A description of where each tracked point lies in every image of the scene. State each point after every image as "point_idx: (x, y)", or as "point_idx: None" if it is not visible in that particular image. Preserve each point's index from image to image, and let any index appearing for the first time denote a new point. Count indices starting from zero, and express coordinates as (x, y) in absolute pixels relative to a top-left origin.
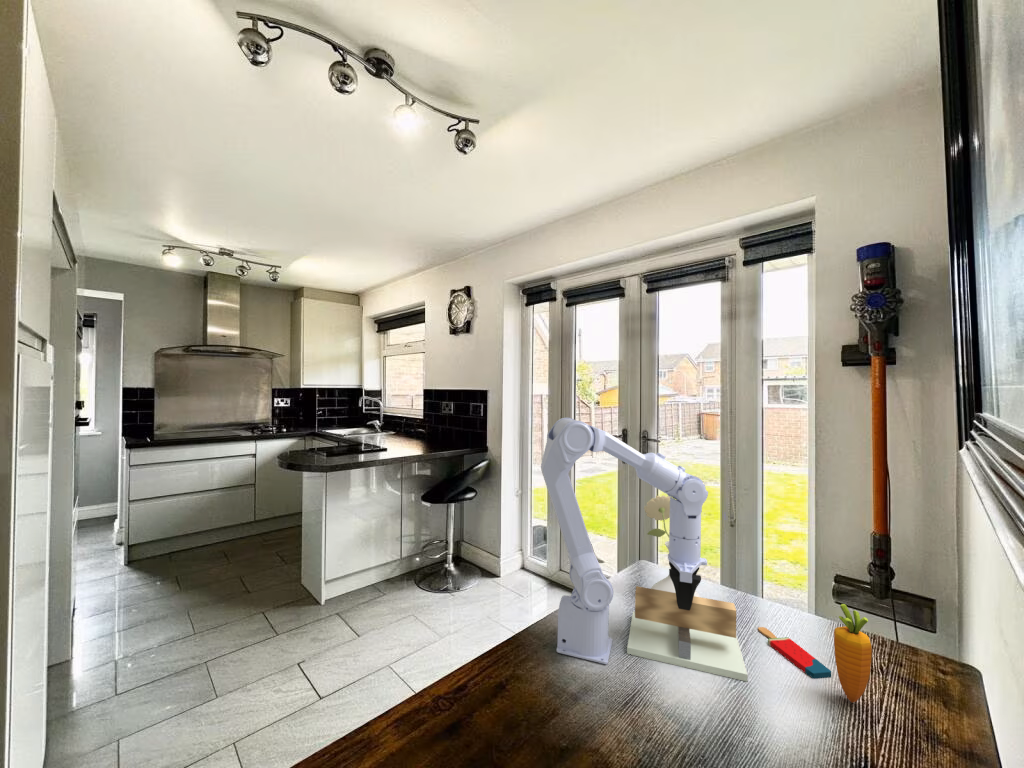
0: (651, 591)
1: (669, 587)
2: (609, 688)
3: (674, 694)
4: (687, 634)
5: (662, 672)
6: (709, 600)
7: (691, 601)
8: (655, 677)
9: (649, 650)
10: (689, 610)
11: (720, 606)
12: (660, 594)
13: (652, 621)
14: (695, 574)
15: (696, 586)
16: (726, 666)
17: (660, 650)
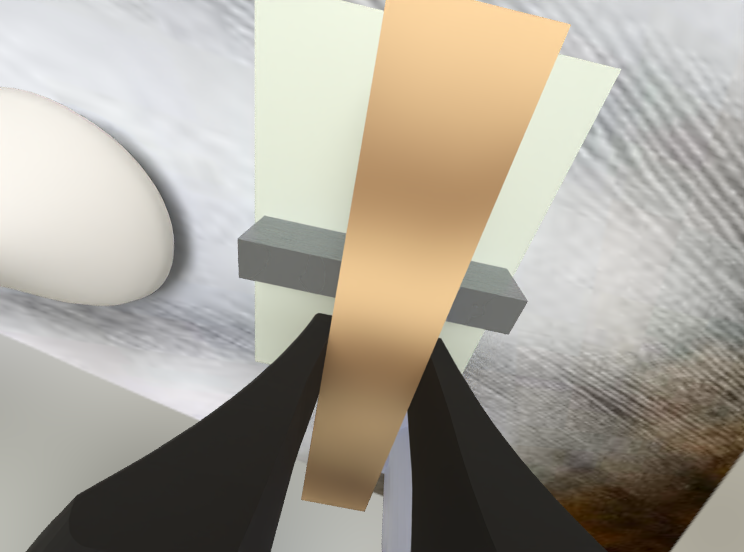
0: (335, 471)
1: (71, 275)
2: (567, 428)
3: (612, 326)
4: (464, 296)
5: (522, 332)
6: (374, 235)
7: (465, 382)
8: (540, 350)
9: (458, 360)
10: (441, 340)
11: (478, 178)
12: (357, 452)
13: (296, 323)
14: (270, 482)
15: (582, 531)
16: (552, 149)
17: (458, 336)
